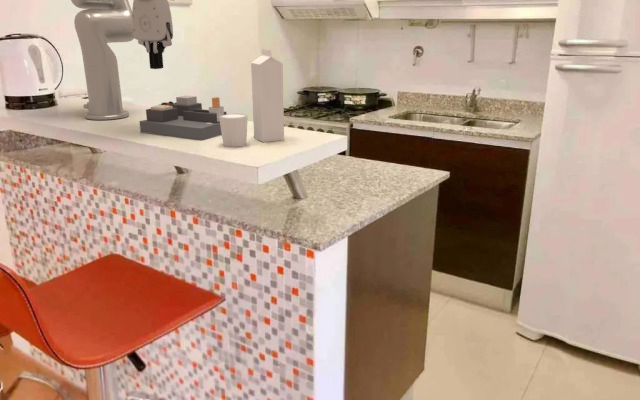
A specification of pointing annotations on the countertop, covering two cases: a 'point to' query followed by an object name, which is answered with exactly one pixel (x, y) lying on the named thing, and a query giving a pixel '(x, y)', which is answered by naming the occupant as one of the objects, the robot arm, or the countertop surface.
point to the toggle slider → (216, 108)
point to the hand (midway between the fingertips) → (156, 68)
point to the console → (182, 122)
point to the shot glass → (234, 129)
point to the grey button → (186, 100)
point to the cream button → (161, 107)
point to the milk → (267, 98)
